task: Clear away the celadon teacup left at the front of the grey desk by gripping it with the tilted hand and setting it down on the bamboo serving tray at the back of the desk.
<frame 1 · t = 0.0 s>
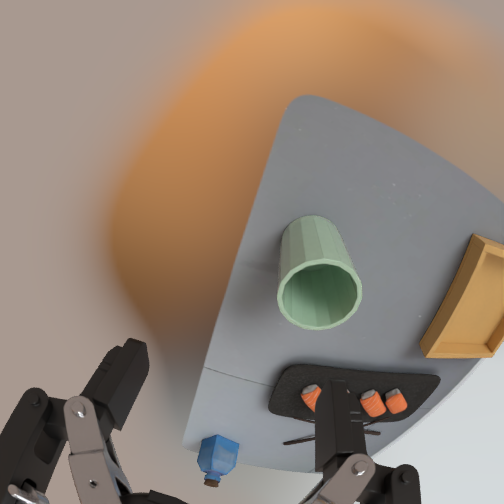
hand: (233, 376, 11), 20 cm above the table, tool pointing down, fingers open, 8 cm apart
teacup: (311, 244, 30), on the table
tray: (483, 300, 30), on the table
perfume bottle: (220, 441, 53), on the table
sushi plate: (340, 414, 43), on the table
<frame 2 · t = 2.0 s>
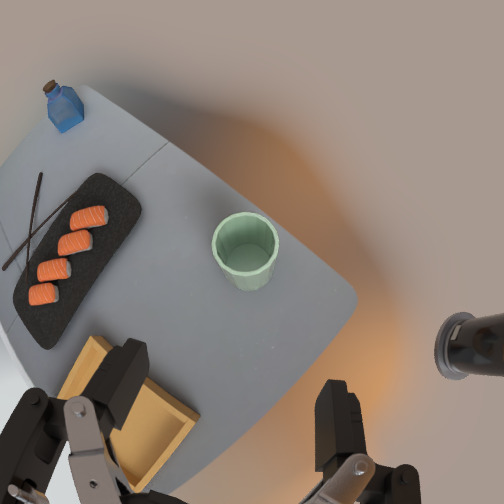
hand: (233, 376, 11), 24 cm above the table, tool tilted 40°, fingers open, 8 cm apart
teacup: (248, 266, 37), on the table
tray: (120, 417, 31), on the table
perfume bottle: (73, 119, 48), on the table
sushi plate: (51, 236, 39), on the table
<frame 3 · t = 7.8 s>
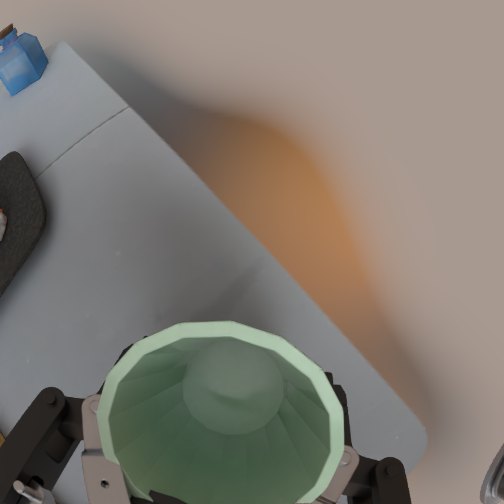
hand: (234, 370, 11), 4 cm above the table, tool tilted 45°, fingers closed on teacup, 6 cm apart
teacup: (232, 387, 15), on the table, touching gripper
perfume bottle: (30, 78, 27), on the table
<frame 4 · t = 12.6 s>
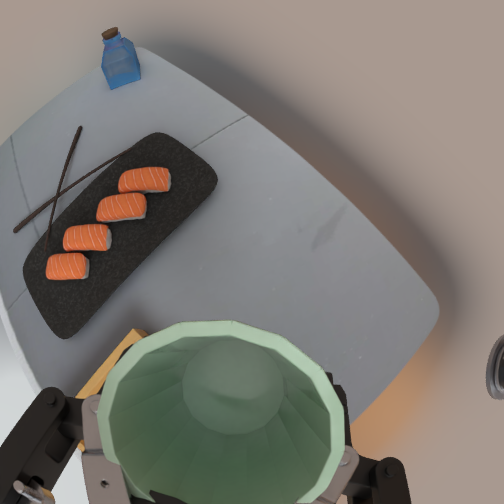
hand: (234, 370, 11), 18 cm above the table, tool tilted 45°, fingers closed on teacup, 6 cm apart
teacup: (232, 387, 15), point 13 cm above the table, touching gripper
tray: (155, 434, 25), on the table
perfume bottle: (125, 77, 43), on the table
sushi plate: (85, 198, 34), on the table
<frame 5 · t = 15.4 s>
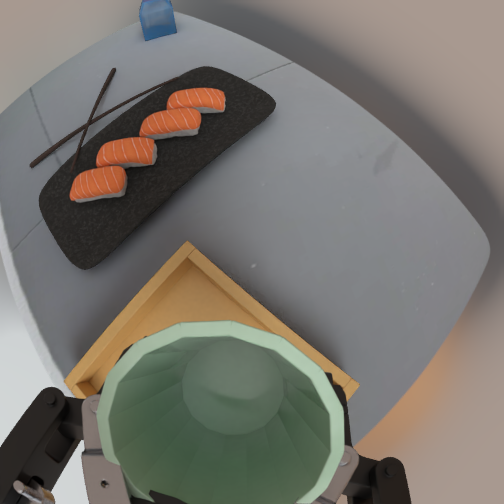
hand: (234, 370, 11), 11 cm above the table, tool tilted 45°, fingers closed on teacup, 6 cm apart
teacup: (232, 387, 15), point 7 cm above the table, touching gripper
tray: (204, 391, 21), on the table
perfume bottle: (160, 32, 40), on the table
sushi plate: (121, 125, 30), on the table
when the fingers open (5 cm above the table, at t = 17.8 s): teacup stays where it is, resting on tray.
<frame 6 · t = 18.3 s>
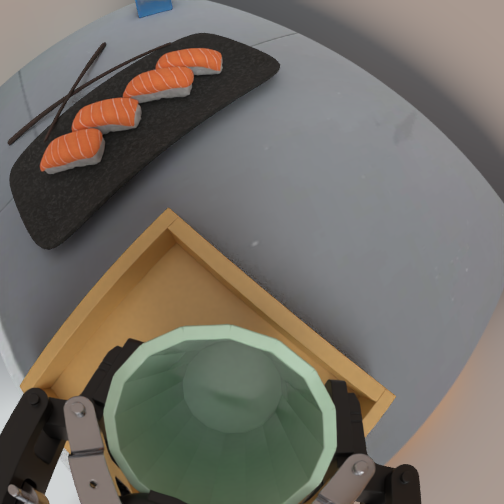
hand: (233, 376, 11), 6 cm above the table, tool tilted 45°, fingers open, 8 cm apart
teacup: (232, 387, 16), point 1 cm above the table, touching tray
tray: (190, 406, 16), on the table
perfume bottle: (155, 10, 34), on the table
sushi plate: (106, 94, 25), on the table
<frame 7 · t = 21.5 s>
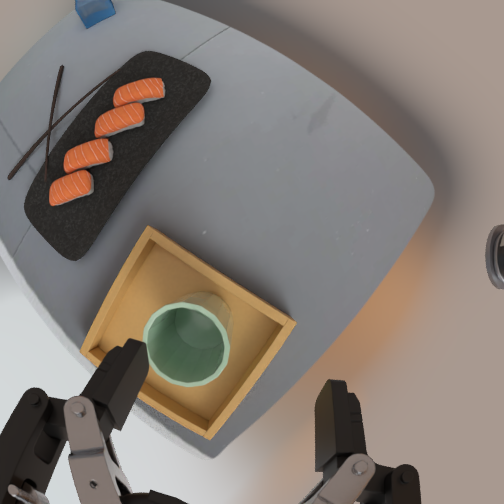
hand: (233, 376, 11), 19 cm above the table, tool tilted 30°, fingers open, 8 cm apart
teacup: (202, 321, 29), point 1 cm above the table, touching tray
tray: (182, 336, 29), on the table
perfume bottle: (100, 15, 32), on the table
sushi plate: (79, 124, 31), on the table
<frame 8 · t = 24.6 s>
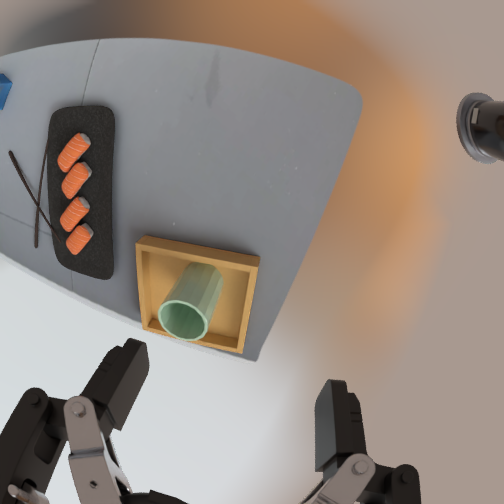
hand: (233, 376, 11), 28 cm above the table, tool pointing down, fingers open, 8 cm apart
teacup: (202, 280, 42), point 1 cm above the table, touching tray
tray: (196, 292, 44), on the table
perfume bottle: (3, 91, 31), on the table
sushi plate: (53, 188, 39), on the table
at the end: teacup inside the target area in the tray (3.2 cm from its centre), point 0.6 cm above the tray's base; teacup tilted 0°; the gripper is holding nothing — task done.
